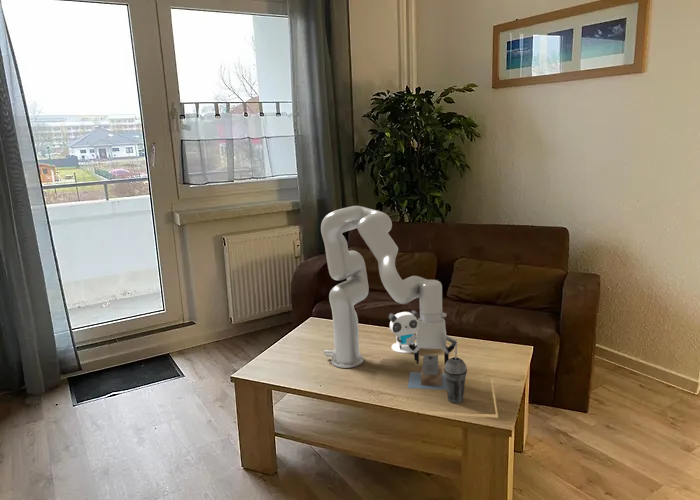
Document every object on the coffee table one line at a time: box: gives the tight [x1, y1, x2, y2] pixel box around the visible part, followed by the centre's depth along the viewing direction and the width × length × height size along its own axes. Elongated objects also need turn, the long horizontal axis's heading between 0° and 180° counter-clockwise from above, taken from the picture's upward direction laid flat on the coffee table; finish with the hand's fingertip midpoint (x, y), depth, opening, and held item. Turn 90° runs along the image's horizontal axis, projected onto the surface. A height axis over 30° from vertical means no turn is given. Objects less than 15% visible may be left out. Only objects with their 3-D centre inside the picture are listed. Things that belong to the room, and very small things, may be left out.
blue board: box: [407, 371, 447, 391], centre depth 185 cm, size 16×12×1 cm
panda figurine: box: [388, 309, 420, 354], centre depth 215 cm, size 12×11×15 cm
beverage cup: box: [443, 343, 468, 405], centre depth 170 cm, size 7×7×20 cm
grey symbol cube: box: [422, 354, 439, 375], centre depth 183 cm, size 5×5×5 cm
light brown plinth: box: [420, 364, 443, 386], centre depth 185 cm, size 7×7×4 cm
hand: (431, 362), depth 184 cm, fingers open, 9 cm apart
